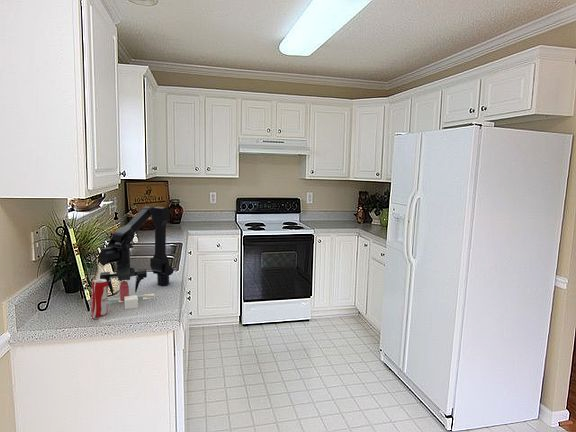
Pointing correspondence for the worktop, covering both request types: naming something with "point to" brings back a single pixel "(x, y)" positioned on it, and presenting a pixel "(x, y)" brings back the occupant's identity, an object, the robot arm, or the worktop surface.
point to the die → (131, 302)
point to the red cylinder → (124, 290)
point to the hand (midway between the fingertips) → (124, 293)
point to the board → (140, 297)
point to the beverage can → (99, 298)
